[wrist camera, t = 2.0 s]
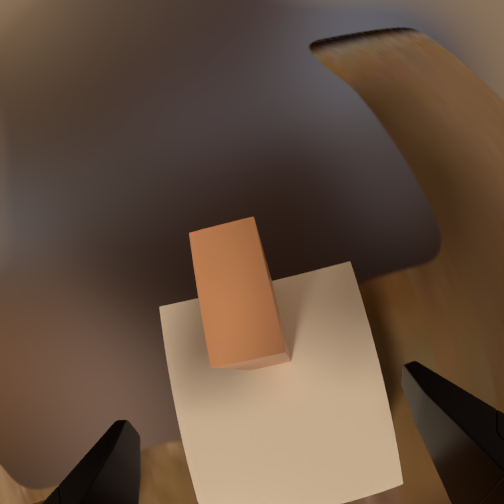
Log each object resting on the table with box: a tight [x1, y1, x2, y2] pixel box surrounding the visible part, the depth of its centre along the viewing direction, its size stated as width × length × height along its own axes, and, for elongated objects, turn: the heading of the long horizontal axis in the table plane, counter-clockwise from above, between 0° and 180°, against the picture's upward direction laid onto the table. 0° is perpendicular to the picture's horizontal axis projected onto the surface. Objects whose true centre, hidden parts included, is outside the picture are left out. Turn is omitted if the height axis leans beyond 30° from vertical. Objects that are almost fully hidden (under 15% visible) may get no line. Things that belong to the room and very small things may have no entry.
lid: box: [159, 217, 403, 504], centre depth 11 cm, size 12×10×8 cm
